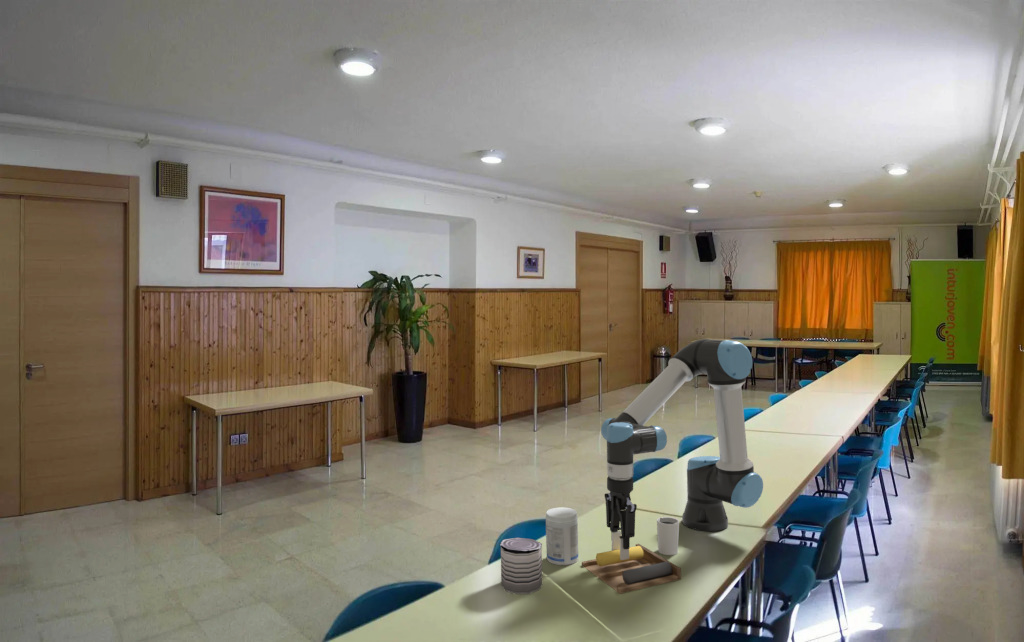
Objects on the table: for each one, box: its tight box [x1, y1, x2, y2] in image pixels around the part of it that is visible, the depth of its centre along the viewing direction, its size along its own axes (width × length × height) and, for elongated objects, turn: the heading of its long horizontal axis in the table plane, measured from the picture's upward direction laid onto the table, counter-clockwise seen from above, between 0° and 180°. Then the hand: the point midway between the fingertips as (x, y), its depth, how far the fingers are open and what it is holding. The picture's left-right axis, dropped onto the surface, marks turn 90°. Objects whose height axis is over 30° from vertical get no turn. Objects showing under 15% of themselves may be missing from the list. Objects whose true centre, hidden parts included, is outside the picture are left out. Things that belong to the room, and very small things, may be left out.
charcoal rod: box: [622, 561, 672, 585], centre depth 180 cm, size 14×4×4 cm, turn 114°
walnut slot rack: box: [581, 543, 682, 594], centre depth 185 cm, size 20×20×3 cm
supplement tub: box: [545, 506, 579, 566], centre depth 195 cm, size 10×10×15 cm
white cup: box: [656, 516, 680, 556], centre depth 199 cm, size 7×7×10 cm
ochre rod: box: [595, 545, 644, 566], centre depth 189 cm, size 14×4×4 cm
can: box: [499, 537, 543, 595], centre depth 178 cm, size 11×11×12 cm
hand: (620, 556), depth 189 cm, fingers closed on ochre rod, 3 cm apart
